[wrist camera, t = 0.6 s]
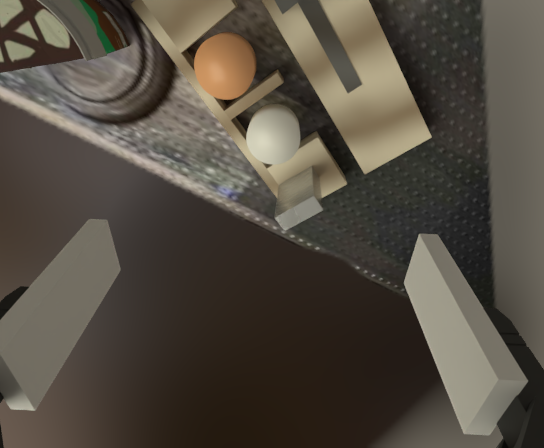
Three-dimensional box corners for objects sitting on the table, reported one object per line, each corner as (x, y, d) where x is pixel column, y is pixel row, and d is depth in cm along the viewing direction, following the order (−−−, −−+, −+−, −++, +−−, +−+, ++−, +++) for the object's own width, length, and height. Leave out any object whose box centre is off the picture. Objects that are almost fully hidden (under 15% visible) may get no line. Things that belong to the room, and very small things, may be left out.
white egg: (239, 122, 33) (235, 132, 31) (281, 93, 32) (280, 100, 29) (268, 162, 35) (266, 173, 33) (309, 136, 34) (310, 146, 32)
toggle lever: (278, 184, 37) (274, 217, 31) (311, 165, 36) (313, 195, 30) (287, 196, 38) (284, 230, 32) (319, 177, 36) (323, 210, 30)
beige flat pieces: (139, 4, 30) (129, 4, 29) (296, -147, 25) (296, -157, 23) (290, 206, 41) (290, 215, 39) (425, 130, 35) (432, 137, 34)
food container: (119, -41, 29) (49, -55, 20) (145, 43, 32) (94, 59, 24) (-15, -13, 30) (-132, -16, 22) (23, 64, 34) (-66, 87, 25)
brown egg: (190, 55, 30) (181, 60, 28) (233, 18, 29) (228, 20, 26) (224, 102, 33) (219, 110, 30) (267, 71, 31) (265, 77, 29)
